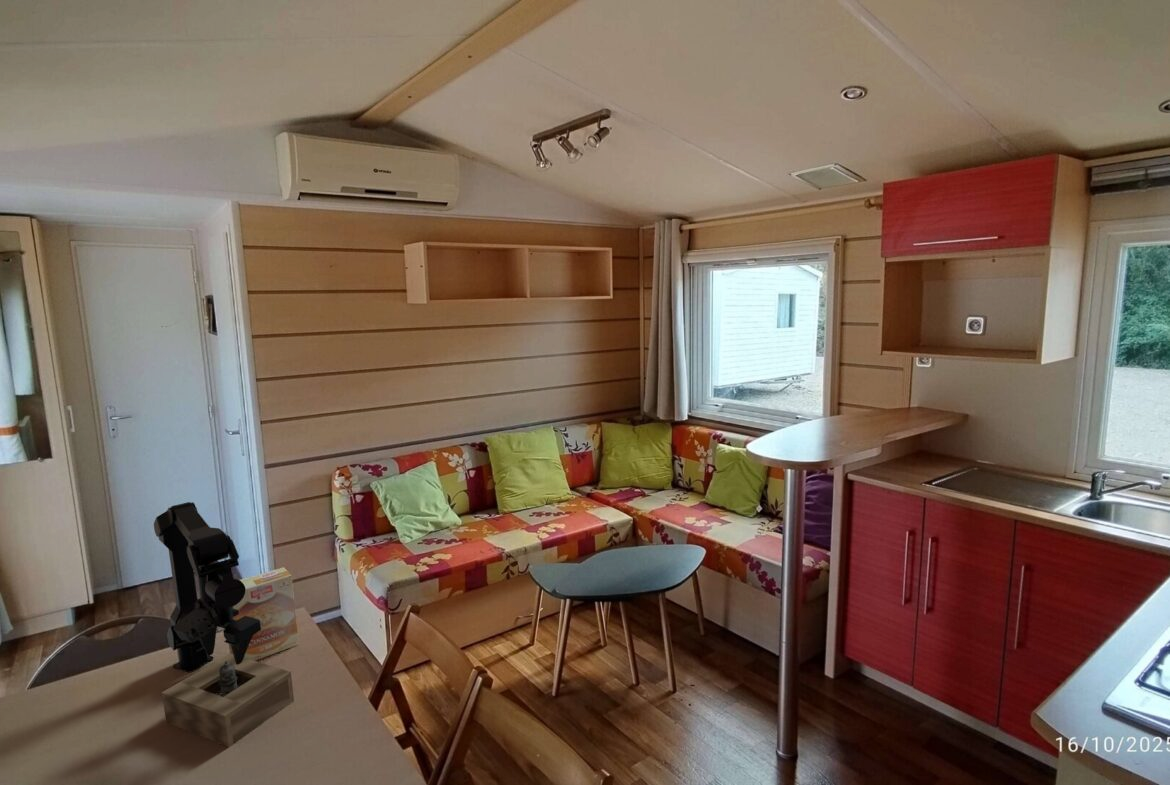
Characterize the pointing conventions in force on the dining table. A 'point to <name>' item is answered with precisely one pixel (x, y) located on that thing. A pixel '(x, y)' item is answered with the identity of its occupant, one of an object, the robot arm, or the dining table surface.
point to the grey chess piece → (227, 679)
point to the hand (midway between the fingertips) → (224, 659)
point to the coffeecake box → (269, 612)
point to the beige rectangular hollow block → (228, 700)
